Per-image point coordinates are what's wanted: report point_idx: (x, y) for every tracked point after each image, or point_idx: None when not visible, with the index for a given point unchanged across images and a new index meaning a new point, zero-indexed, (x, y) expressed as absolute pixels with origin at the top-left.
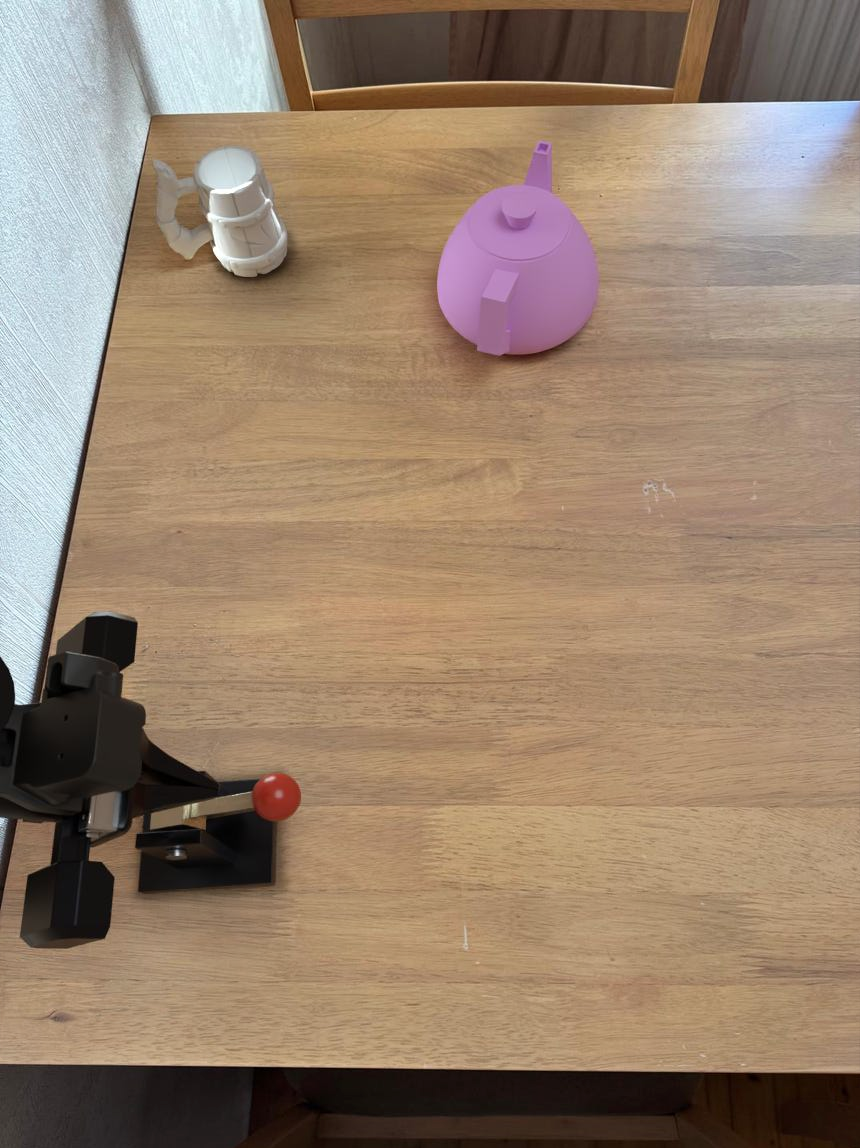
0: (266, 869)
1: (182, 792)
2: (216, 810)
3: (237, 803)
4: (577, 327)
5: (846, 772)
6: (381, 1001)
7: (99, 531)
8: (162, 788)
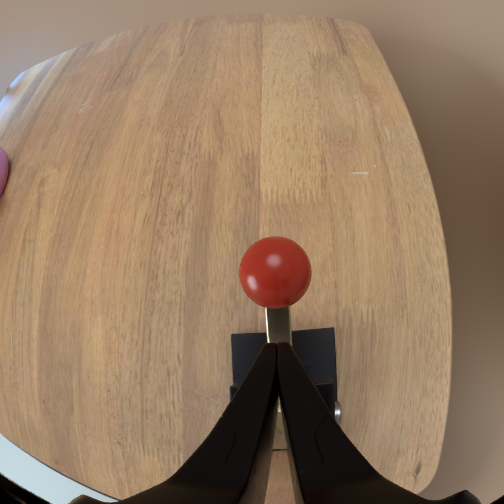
0: (321, 334)
1: (299, 400)
2: None
3: (281, 334)
4: (4, 152)
5: (245, 30)
6: (411, 230)
7: (49, 452)
8: (301, 444)
